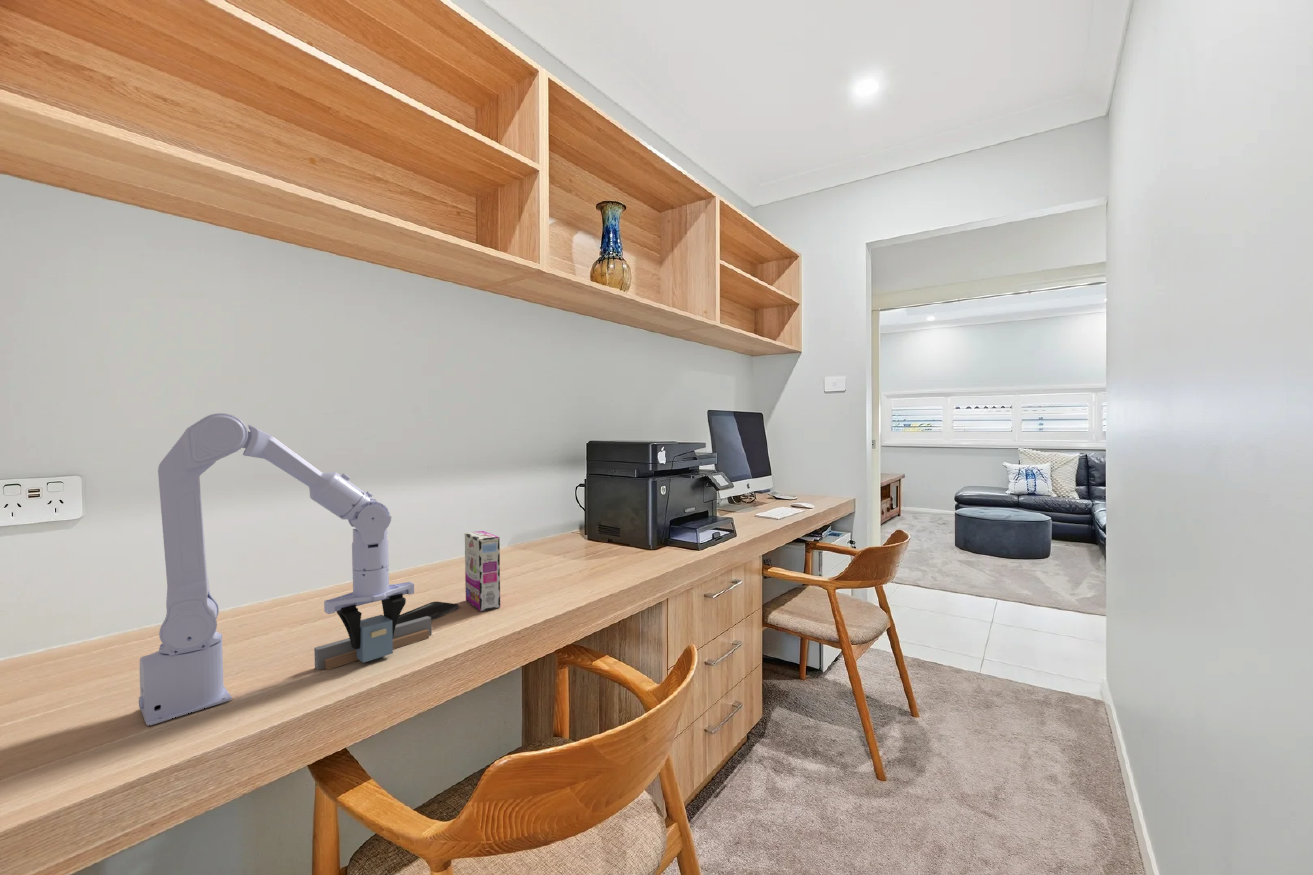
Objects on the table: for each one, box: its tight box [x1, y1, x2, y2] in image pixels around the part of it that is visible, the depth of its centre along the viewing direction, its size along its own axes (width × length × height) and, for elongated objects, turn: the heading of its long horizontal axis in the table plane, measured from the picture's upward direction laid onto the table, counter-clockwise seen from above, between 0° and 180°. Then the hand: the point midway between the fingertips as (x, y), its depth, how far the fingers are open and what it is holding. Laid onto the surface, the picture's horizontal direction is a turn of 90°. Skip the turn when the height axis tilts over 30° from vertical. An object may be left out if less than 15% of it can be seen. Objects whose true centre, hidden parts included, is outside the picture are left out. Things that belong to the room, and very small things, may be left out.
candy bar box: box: [464, 530, 501, 612], centre depth 126 cm, size 11×5×16 cm, turn 37°
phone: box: [396, 601, 459, 625], centre depth 118 cm, size 8×1×15 cm
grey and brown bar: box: [313, 616, 433, 671], centre depth 99 cm, size 20×3×4 cm, turn 139°
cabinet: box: [357, 614, 394, 663], centre depth 96 cm, size 5×5×6 cm
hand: (372, 642), depth 96 cm, fingers closed on cabinet, 5 cm apart
